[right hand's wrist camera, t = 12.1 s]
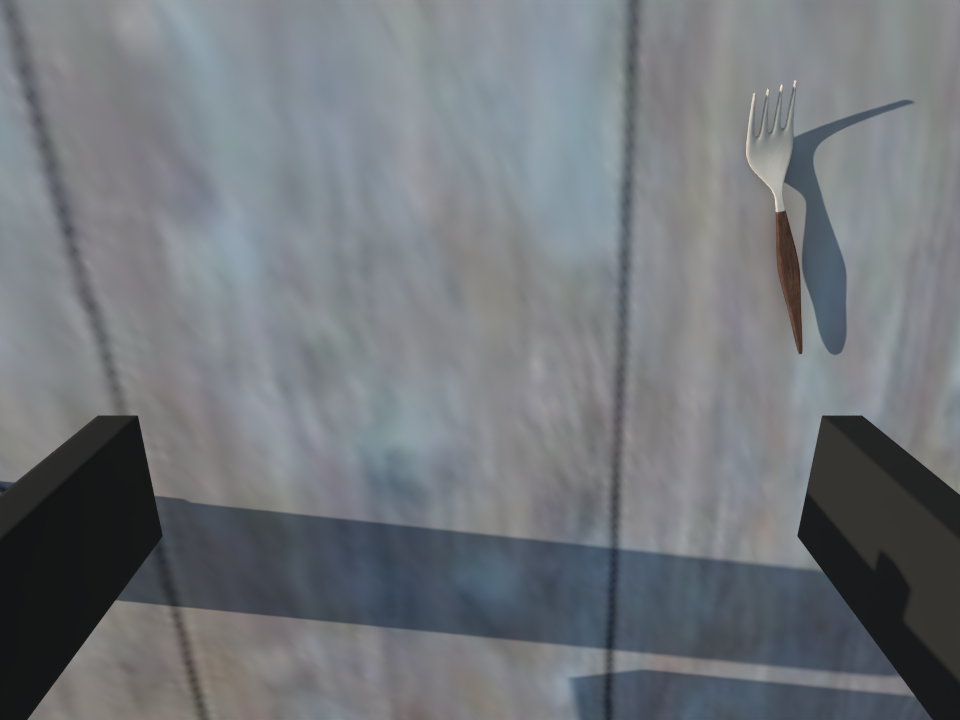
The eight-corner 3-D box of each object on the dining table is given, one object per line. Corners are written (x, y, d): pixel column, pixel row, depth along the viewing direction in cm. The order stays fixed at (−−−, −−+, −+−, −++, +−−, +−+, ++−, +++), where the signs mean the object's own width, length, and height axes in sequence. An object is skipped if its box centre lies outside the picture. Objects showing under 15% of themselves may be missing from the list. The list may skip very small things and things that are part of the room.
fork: (775, 356, 42) (789, 368, 40) (736, 94, 36) (750, 94, 34) (817, 345, 41) (833, 356, 39) (784, 80, 36) (801, 78, 34)
